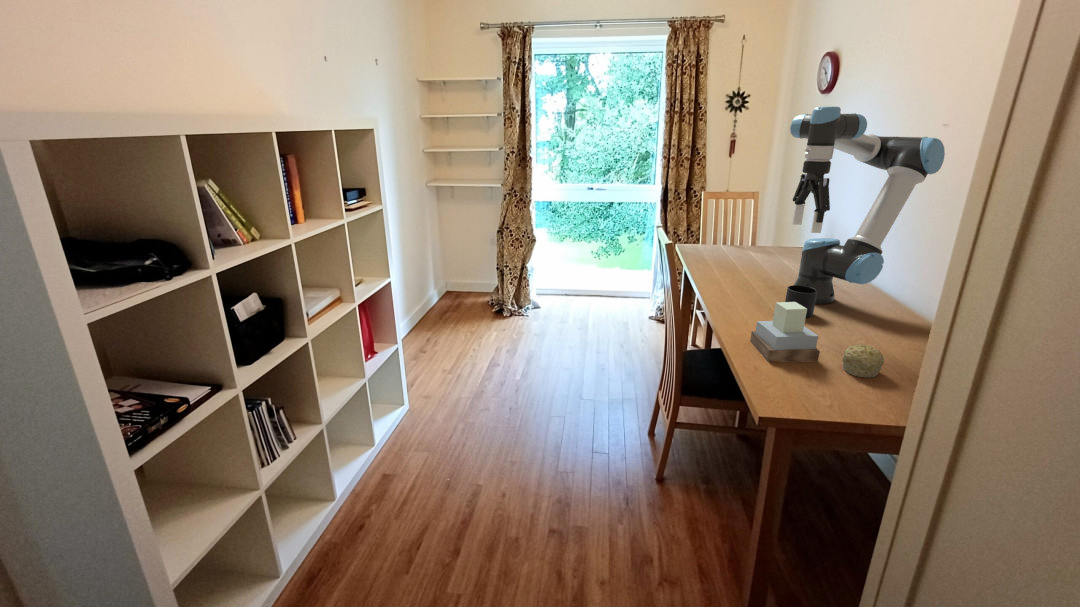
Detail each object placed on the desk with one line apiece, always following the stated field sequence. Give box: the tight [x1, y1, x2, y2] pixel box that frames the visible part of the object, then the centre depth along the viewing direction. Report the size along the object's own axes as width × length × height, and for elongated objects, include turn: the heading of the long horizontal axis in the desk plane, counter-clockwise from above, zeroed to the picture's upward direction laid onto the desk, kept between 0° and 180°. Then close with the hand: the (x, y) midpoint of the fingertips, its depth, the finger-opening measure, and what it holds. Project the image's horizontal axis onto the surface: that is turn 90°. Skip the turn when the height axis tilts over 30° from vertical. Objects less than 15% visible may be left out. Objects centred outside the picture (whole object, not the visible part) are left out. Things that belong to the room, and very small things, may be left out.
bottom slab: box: [750, 330, 821, 363], centre depth 150 cm, size 14×14×4 cm
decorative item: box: [842, 344, 885, 378], centre depth 138 cm, size 10×10×10 cm
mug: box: [784, 284, 817, 319], centre depth 180 cm, size 9×12×9 cm
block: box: [772, 301, 807, 333], centre depth 147 cm, size 6×6×7 cm
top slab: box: [755, 320, 819, 350], centre depth 149 cm, size 12×12×4 cm
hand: (805, 228), depth 164 cm, fingers open, 13 cm apart
